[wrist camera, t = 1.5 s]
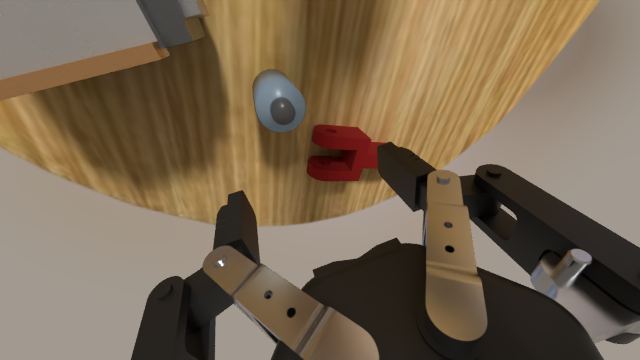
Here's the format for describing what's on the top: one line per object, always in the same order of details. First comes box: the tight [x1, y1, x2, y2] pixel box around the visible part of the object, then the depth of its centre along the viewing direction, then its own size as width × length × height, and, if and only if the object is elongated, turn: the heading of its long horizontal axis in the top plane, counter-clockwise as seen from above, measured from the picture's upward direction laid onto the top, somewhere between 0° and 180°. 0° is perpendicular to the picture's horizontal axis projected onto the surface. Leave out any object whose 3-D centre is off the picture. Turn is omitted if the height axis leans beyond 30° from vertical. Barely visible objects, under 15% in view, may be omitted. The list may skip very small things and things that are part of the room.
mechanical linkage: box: [307, 125, 399, 181], centre depth 37 cm, size 16×7×5 cm, turn 80°
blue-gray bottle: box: [252, 70, 306, 132], centre depth 27 cm, size 5×5×10 cm
